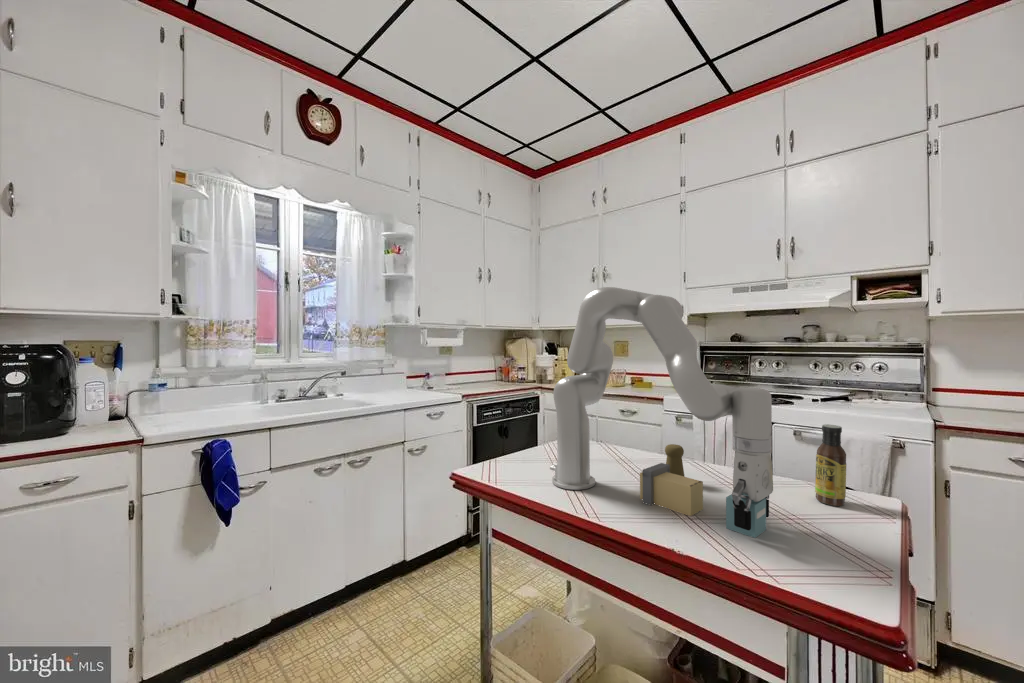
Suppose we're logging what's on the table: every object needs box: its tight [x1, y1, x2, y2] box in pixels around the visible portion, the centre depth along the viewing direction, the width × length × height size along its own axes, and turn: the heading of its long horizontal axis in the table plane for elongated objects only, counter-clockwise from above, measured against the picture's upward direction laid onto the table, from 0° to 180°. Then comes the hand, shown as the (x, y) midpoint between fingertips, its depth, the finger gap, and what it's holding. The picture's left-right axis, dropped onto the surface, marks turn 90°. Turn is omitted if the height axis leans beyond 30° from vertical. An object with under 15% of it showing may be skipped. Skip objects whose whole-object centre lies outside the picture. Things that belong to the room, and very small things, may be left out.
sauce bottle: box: [814, 423, 847, 507], centre depth 108 cm, size 6×6×20 cm
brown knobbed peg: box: [664, 443, 686, 477], centre depth 124 cm, size 6×6×11 cm
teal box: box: [725, 493, 767, 539], centre depth 94 cm, size 6×6×7 cm
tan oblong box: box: [639, 462, 704, 517], centre depth 108 cm, size 14×9×9 cm, turn 39°
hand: (752, 521), depth 93 cm, fingers open, 9 cm apart
